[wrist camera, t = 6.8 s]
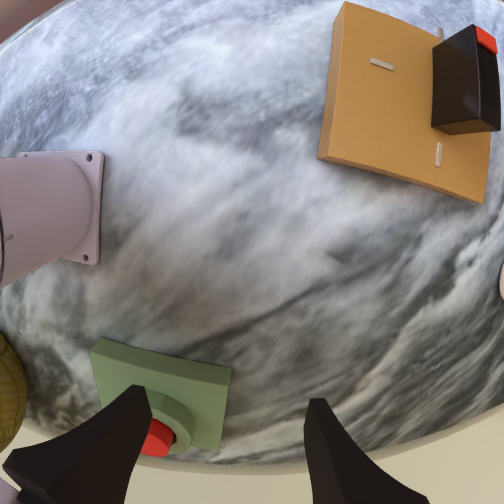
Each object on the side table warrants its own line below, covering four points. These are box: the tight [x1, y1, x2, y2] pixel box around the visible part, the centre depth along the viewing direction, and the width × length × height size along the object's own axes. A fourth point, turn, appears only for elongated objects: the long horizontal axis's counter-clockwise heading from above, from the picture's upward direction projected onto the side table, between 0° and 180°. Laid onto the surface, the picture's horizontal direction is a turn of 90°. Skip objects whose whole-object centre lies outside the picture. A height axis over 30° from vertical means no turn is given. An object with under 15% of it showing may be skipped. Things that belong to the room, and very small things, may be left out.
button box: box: [90, 338, 232, 454], centre depth 20 cm, size 11×9×4 cm
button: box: [141, 418, 174, 457], centre depth 18 cm, size 4×4×2 cm
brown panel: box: [317, 1, 491, 204], centre depth 13 cm, size 11×11×3 cm
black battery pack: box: [431, 24, 501, 136], centre depth 9 cm, size 6×2×5 cm, turn 171°
